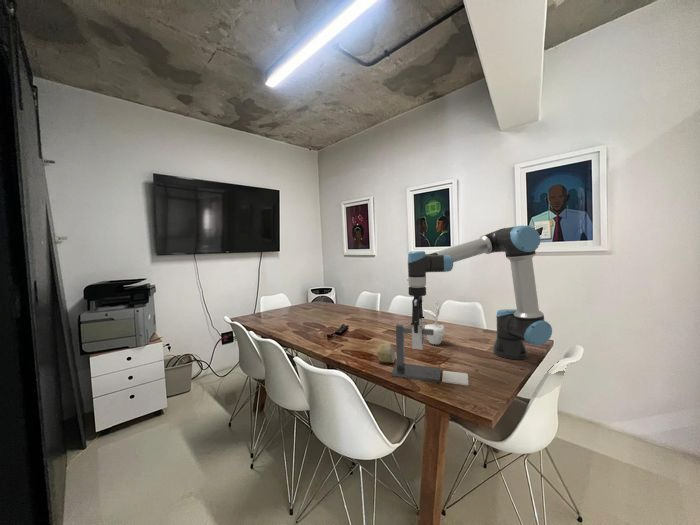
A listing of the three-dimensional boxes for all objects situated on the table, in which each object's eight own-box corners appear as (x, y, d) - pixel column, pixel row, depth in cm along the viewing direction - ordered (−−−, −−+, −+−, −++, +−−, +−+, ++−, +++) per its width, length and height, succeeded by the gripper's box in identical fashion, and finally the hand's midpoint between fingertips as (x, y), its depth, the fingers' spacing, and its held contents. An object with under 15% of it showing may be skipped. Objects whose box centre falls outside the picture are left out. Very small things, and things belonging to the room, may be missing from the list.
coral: (398, 352, 127) (379, 342, 130) (390, 370, 130) (371, 360, 133) (402, 344, 136) (384, 335, 139) (394, 361, 139) (377, 351, 142)
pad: (467, 375, 118) (467, 373, 118) (468, 385, 108) (468, 384, 108) (443, 371, 121) (443, 370, 121) (442, 381, 112) (442, 380, 112)
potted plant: (447, 341, 162) (446, 299, 161) (442, 347, 152) (441, 303, 151) (426, 338, 169) (425, 298, 168) (420, 344, 159) (419, 301, 158)
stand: (441, 370, 123) (440, 324, 122) (439, 382, 112) (438, 332, 111) (397, 365, 130) (396, 321, 129) (391, 375, 119) (390, 328, 118)
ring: (424, 342, 123) (423, 323, 123) (421, 349, 115) (421, 328, 115) (415, 342, 125) (414, 322, 125) (412, 348, 117) (411, 327, 116)
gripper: (412, 283, 131) (413, 328, 132) (403, 289, 110) (405, 343, 111) (428, 283, 128) (429, 330, 129) (422, 290, 107) (424, 345, 108)
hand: (418, 336), depth 120 cm, fingers open, 10 cm apart
